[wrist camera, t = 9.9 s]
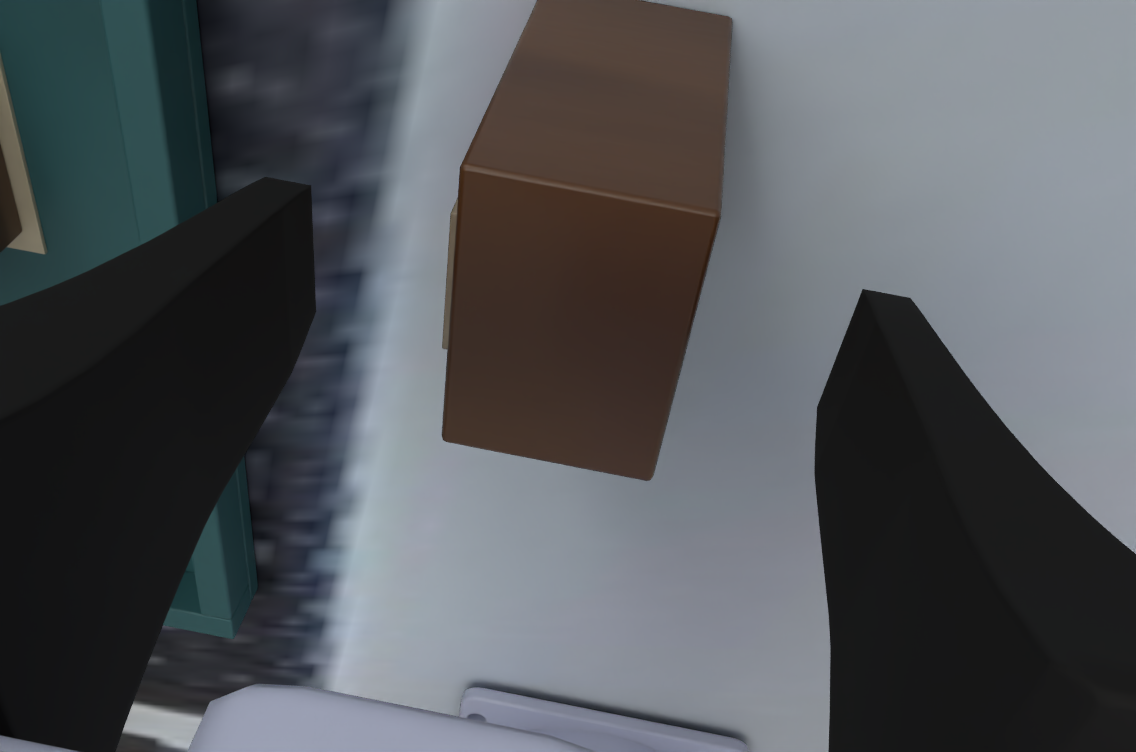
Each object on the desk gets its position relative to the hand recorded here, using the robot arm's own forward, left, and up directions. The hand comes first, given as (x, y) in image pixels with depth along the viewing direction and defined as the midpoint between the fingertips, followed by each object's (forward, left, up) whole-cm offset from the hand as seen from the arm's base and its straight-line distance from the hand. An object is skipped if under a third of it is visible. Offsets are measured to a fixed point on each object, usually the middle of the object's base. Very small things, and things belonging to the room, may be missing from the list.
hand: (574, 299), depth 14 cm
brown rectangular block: (0, 0, -5) cm, 5 cm away
